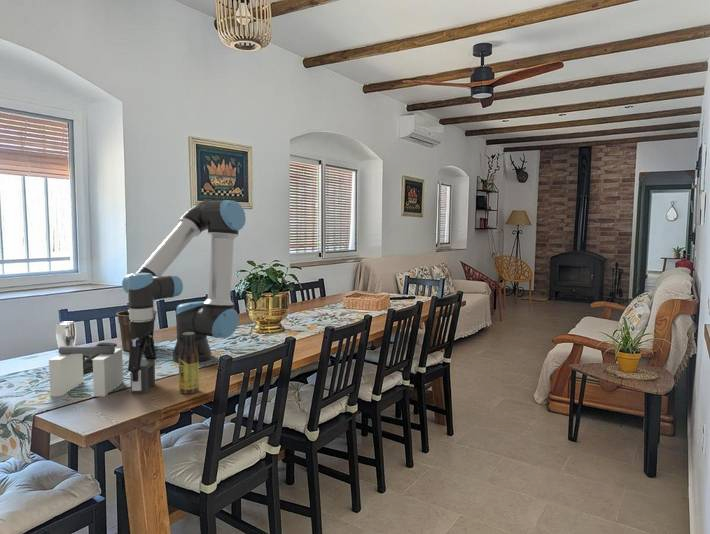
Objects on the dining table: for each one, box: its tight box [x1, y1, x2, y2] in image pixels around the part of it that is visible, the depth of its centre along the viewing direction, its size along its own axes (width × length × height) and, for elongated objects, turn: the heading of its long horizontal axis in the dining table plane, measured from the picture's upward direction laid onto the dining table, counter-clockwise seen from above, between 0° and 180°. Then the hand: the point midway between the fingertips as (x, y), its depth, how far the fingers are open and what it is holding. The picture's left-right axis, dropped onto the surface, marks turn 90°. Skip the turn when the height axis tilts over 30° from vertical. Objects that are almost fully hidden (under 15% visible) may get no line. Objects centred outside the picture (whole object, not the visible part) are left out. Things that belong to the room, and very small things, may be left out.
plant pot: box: [115, 309, 158, 352], centre depth 217 cm, size 16×16×16 cm
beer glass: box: [55, 320, 77, 348], centre depth 198 cm, size 7×7×15 cm
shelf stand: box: [48, 345, 124, 397], centre depth 165 cm, size 17×14×14 cm
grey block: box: [130, 358, 156, 394], centre depth 166 cm, size 5×8×9 cm, turn 3°
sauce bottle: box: [178, 332, 200, 395], centre depth 163 cm, size 7×6×20 cm
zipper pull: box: [83, 342, 118, 375], centre depth 189 cm, size 9×7×25 cm
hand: (143, 384), depth 166 cm, fingers open, 11 cm apart
